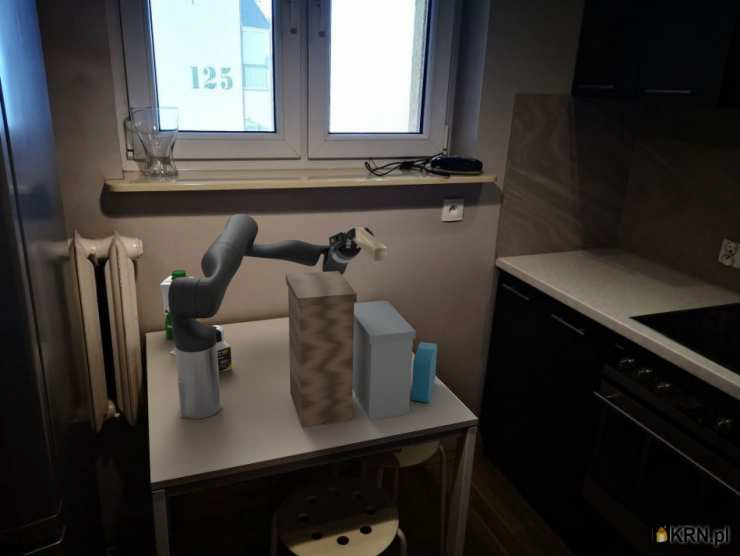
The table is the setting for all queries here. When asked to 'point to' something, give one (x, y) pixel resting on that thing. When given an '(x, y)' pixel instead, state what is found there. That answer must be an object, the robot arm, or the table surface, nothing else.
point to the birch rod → (370, 244)
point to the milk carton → (165, 289)
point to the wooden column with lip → (321, 346)
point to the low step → (382, 359)
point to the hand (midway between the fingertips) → (360, 231)
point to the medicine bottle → (222, 349)
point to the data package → (424, 372)
